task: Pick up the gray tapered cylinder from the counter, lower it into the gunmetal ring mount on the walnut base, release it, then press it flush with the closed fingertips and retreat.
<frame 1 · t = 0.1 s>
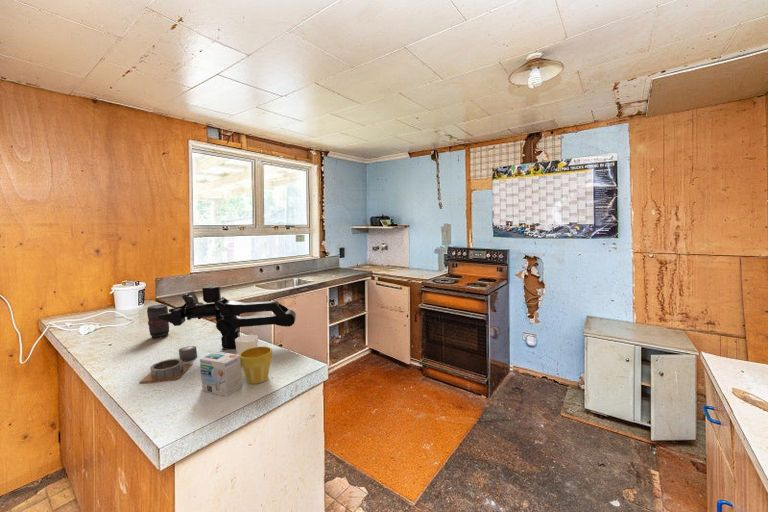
hand: (163, 313, 135), 17 cm above the worktop, tool horizontal, fingers open, 9 cm apart
ring mount: (167, 373, 117), on the worktop
white cup: (248, 364, 124), on the worktop
gray tapered cylinder: (188, 358, 130), on the worktop
camera lens: (160, 337, 156), on the worktop
light bulb box: (222, 389, 105), on the worktop
plant pot: (257, 379, 111), on the worktop
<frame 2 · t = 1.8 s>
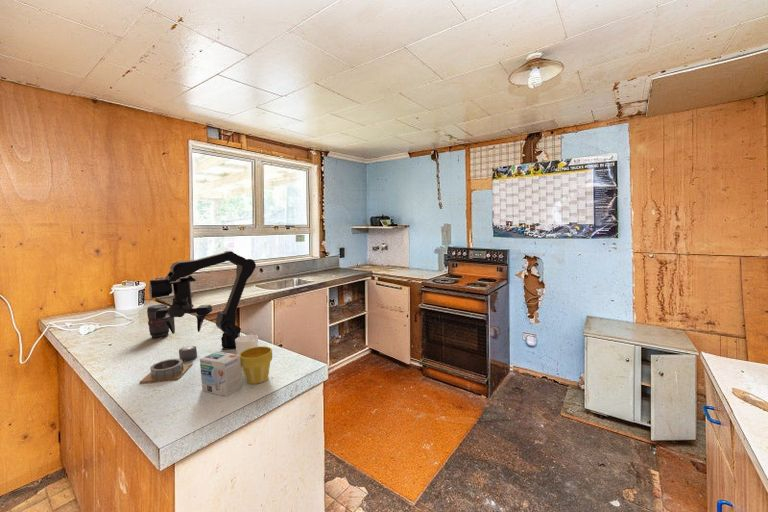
hand: (186, 332, 129), 11 cm above the worktop, tool pointing down, fingers open, 9 cm apart
nothing on the worktop moved.
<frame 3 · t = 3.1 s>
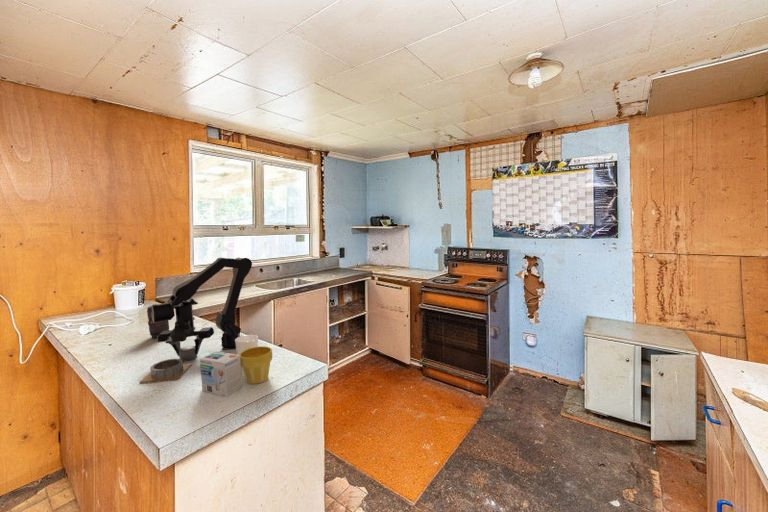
hand: (188, 355, 130), 1 cm above the worktop, tool pointing down, fingers closed on gray tapered cylinder, 6 cm apart
gray tapered cylinder: (188, 358, 130), on the worktop, touching gripper
everything else where it was.
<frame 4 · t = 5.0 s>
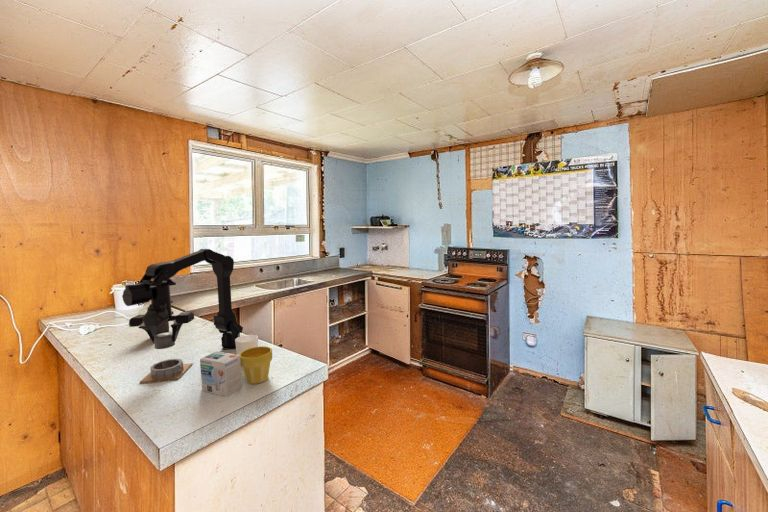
hand: (164, 342, 116), 11 cm above the worktop, tool pointing down, fingers closed on gray tapered cylinder, 6 cm apart
gray tapered cylinder: (164, 345, 116), point 10 cm above the worktop, touching gripper
everything else where it was.
when the fingers open (4 cm above the worktop, at t = 7.1 s): gray tapered cylinder drops 2 cm, resting on ring mount.
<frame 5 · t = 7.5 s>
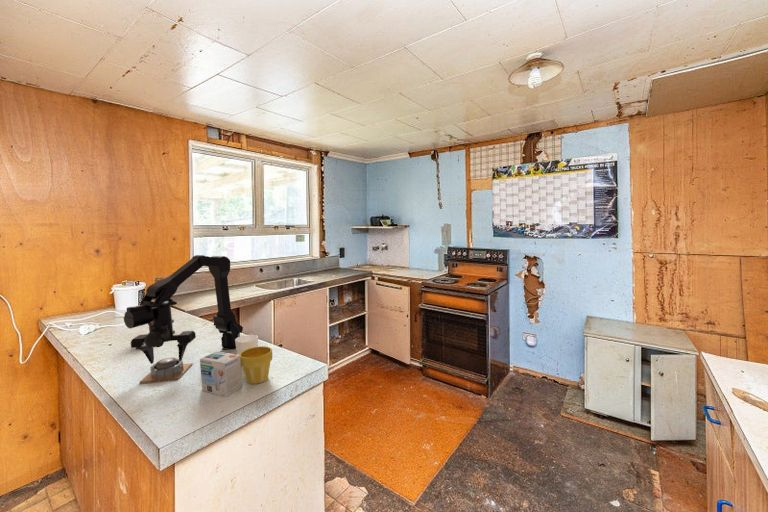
hand: (166, 362, 116), 4 cm above the worktop, tool pointing down, fingers open, 9 cm apart
gray tapered cylinder: (167, 371, 117), point 1 cm above the worktop, touching ring mount
everything else where it was.
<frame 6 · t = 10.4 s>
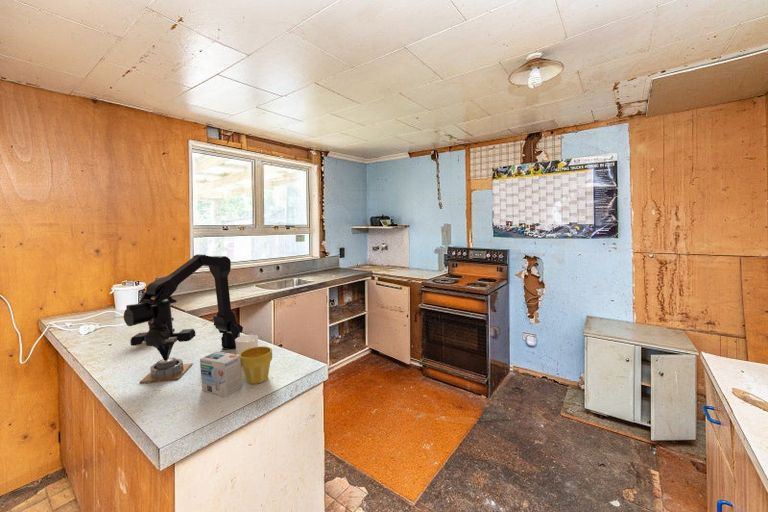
hand: (166, 360, 116), 5 cm above the worktop, tool pointing down, fingers closed
nothing on the worktop moved.
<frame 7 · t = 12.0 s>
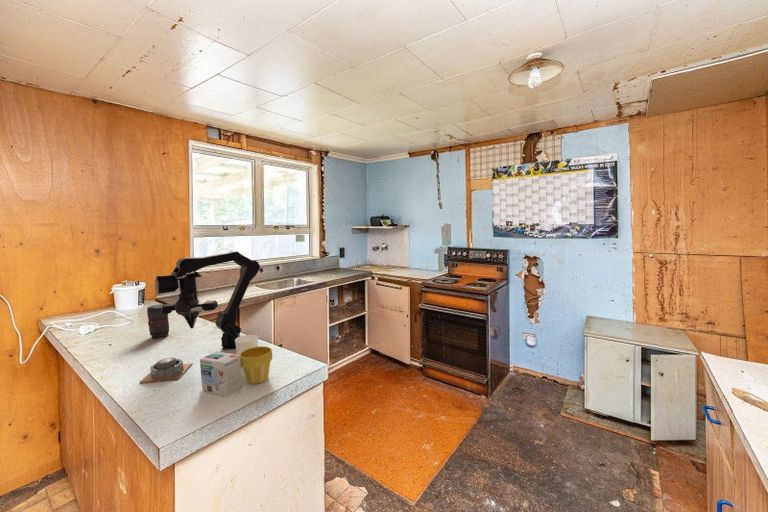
hand: (192, 328, 130), 12 cm above the worktop, tool pointing down, fingers closed
nothing on the worktop moved.
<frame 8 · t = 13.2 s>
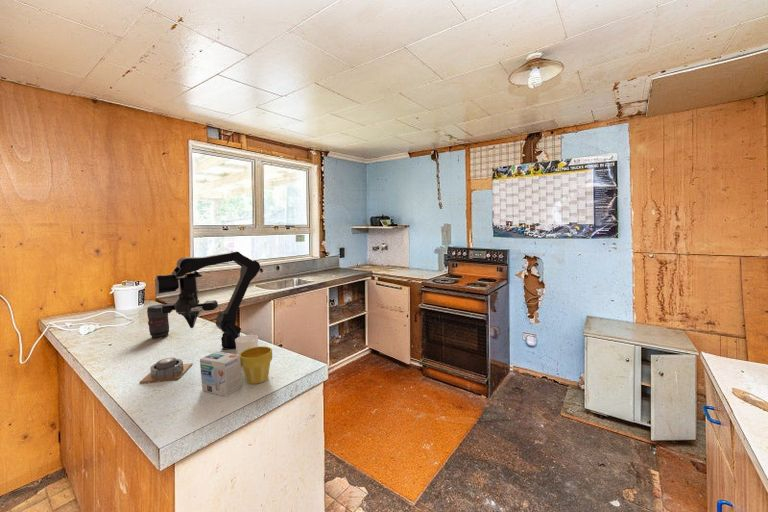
hand: (192, 327, 130), 12 cm above the worktop, tool pointing down, fingers closed
nothing on the worktop moved.
at the end: gray tapered cylinder 0.1 cm off-centre on the ring mount, point 0.6 cm above the ring mount's base; gray tapered cylinder tilted 0°; the gripper is holding nothing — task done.
